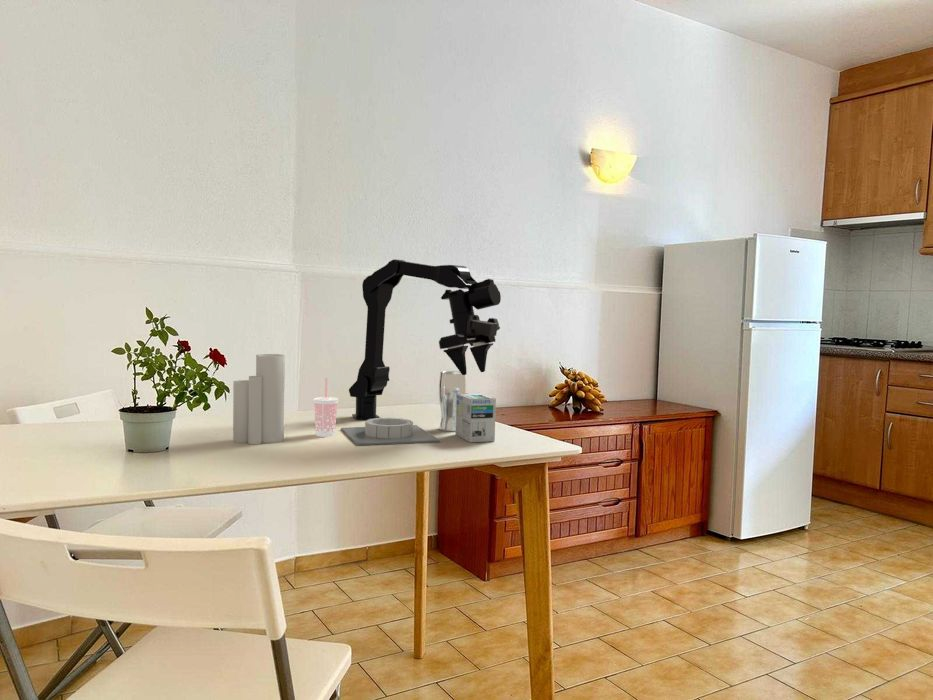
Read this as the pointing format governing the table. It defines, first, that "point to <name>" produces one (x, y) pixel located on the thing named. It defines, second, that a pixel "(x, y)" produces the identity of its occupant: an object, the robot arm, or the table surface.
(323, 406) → the beverage cup
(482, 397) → the light bulb box
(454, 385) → the beer glass
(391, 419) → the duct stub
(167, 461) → the table surface
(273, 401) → the vase
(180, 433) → the table surface
